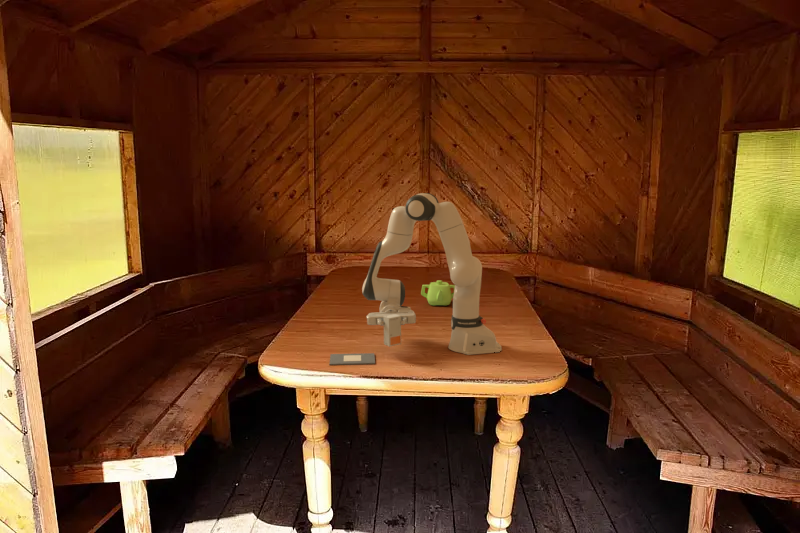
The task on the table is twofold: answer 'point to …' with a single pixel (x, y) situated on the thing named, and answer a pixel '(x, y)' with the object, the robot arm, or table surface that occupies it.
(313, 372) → the table surface
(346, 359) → the rubber mat
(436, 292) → the teapot
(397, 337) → the skincare box
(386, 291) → the robot arm
